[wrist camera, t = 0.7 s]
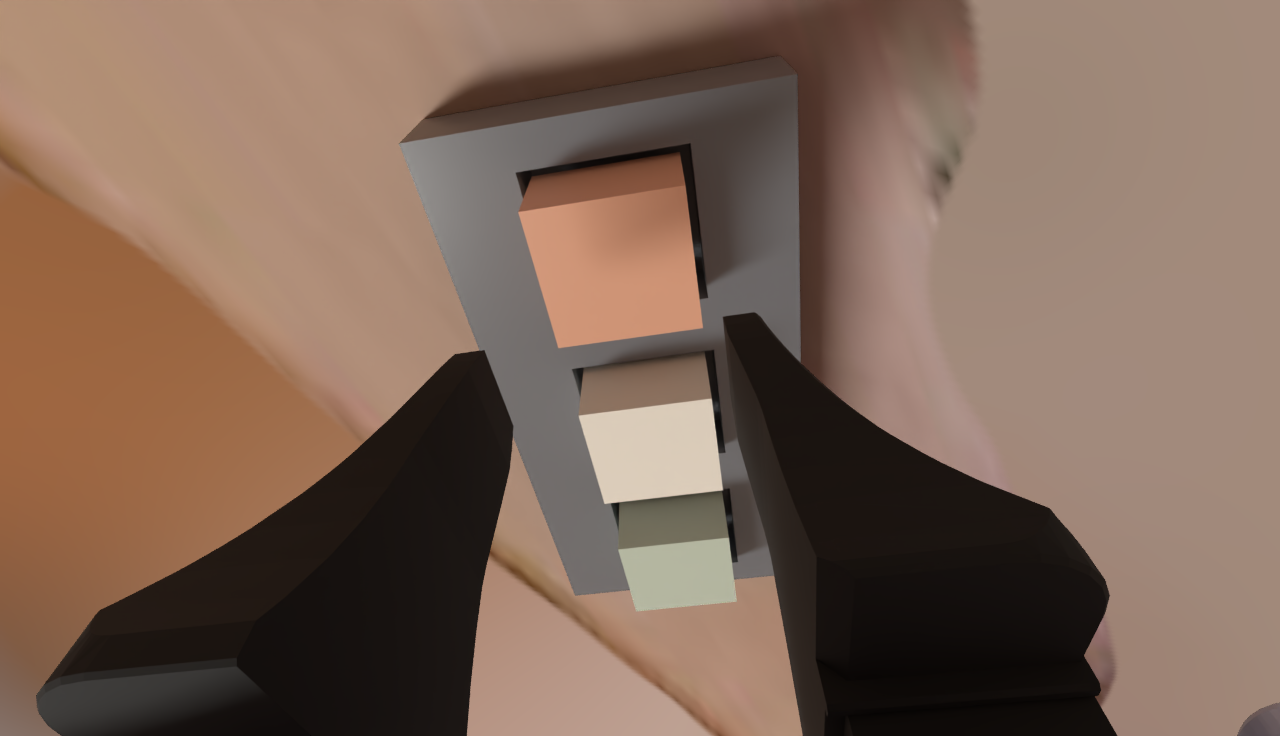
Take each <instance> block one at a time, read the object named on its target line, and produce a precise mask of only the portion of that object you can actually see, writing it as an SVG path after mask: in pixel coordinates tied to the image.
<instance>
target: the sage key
mask: <svg viewBox="0 0 1280 736" xmlns="http://www.w3.org/2000/svg"><path fill="white" fill-rule="evenodd" d="M618 551H619V554H620V558H621V561H622V564H623V568H624V571H625V575H626V578H627V581H628V585H629V588H630V591H631V595H632V598H633V602H634V605H635V608H636V611H645V610H655V609H665V608H675V607H686V606H696V605H706V604H716V603H726V602H737V600H736V592H735V584H734V576H733V568H732V560H731V551H730V543H729V536H728V529H727V522H726V515H725V508H724V501H723V495H722V490H721V491H712V492H704V493H695V494H686V495H678V496H669V497H660V498H651V499H643V500H634V501H625V502H619V534H618Z"/></svg>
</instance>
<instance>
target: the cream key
mask: <svg viewBox="0 0 1280 736" xmlns="http://www.w3.org/2000/svg"><path fill="white" fill-rule="evenodd" d="M578 416H579V419H580V423H581V426H582V429H583V433H584V436H585V439H586V443H587V446H588V450H589V453H590V456H591V460H592V463H593V467H594V470H595V473H596V477H597V480H598V483H599V487H600V490H601V494H602V497H603V500H604V504H608V503H617V502H625V501H634V500H643V499H651V498H660V497H669V496H678V495H686V494H695V493H704V492H712V491H721V490H723V486H722V478H721V470H720V462H719V454H718V446H717V438H716V429H715V421H714V413H713V405H712V397H711V391H710V384H709V378H708V371H707V365H706V358H705V352H704V351H703V352H696V353H688V354H681V355H674V356H666V357H659V358H651V359H644V360H637V361H629V362H622V363H615V364H607V365H600V366H593V367H585V368H584V370H583V379H582V388H581V397H580V406H579V415H578Z"/></svg>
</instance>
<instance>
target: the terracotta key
mask: <svg viewBox="0 0 1280 736" xmlns="http://www.w3.org/2000/svg"><path fill="white" fill-rule="evenodd" d="M518 213H519V217H520V220H521V223H522V227H523V230H524V233H525V237H526V240H527V244H528V247H529V250H530V254H531V257H532V260H533V264H534V267H535V271H536V274H537V277H538V281H539V284H540V288H541V291H542V294H543V298H544V301H545V304H546V308H547V311H548V315H549V318H550V321H551V325H552V328H553V331H554V335H555V338H556V342H557V345H558V348H564V347H571V346H578V345H585V344H592V343H599V342H607V341H614V340H621V339H628V338H635V337H643V336H650V335H657V334H664V333H671V332H678V331H686V330H693V329H700V328H703V324H702V316H701V307H700V299H699V291H698V283H697V275H696V267H695V259H694V251H693V242H692V234H691V226H690V218H689V210H688V202H687V194H686V186H685V180H684V174H683V168H682V163H681V157H680V152H676V153H670V154H664V155H658V156H652V157H646V158H640V159H634V160H628V161H622V162H616V163H610V164H604V165H598V166H592V167H586V168H580V169H574V170H568V171H562V172H556V173H550V174H544V175H538V176H532V177H531V180H530V182H529V185H528V188H527V190H526V193H525V195H524V198H523V201H522V203H521V206H520V209H519V211H518Z"/></svg>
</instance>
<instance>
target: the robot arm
mask: <svg viewBox="0 0 1280 736" xmlns="http://www.w3.org/2000/svg"><path fill="white" fill-rule="evenodd" d="M723 325H724V335H725V345H726V355H727V365H728V375H729V385H730V395H731V403H732V409H733V415H734V420H735V426H736V432H737V438H738V443H739V446H740V450H741V453H742V457H743V460H744V464H745V467H746V471H747V474H748V478H749V481H750V484H751V488H752V491H753V495H754V498H755V501H756V505H757V508H758V512H759V515H760V518H761V522H762V525H763V529H764V532H765V536H766V540H767V544H768V548H769V552H770V556H771V561H772V566H773V572H774V577H775V582H776V588H777V593H778V598H779V604H780V609H781V615H782V620H783V626H784V631H785V637H786V642H787V648H788V653H789V659H790V664H791V670H792V676H793V681H794V687H795V693H796V698H797V704H798V710H799V715H800V721H801V727H802V733H803V736H1117V734H1116V733H1115V731H1114V729H1113V727H1112V726H1111V724H1110V722H1109V721H1108V719H1107V717H1106V715H1105V714H1104V712H1103V710H1102V708H1101V707H1100V705H1099V703H1098V701H1097V700H1096V698H1095V696H1098V695H1099V693H1100V691H1101V688H1100V683H1099V681H1098V679H1097V678H1096V676H1095V674H1094V672H1093V671H1092V669H1091V667H1090V666H1089V664H1088V662H1087V661H1086V659H1085V657H1084V654H1085V652H1086V650H1087V648H1088V646H1089V644H1090V642H1091V640H1092V638H1093V636H1094V634H1095V632H1096V630H1097V628H1098V626H1099V624H1100V622H1101V621H1102V619H1103V616H1104V614H1105V612H1106V608H1107V604H1108V600H1109V596H1110V595H1109V591H1108V588H1107V585H1106V581H1105V579H1104V578H1103V576H1102V575H1101V573H1100V572H1099V571H1098V569H1097V568H1096V566H1095V565H1094V563H1093V562H1092V560H1091V559H1090V557H1089V556H1088V554H1087V553H1086V552H1085V550H1084V549H1083V548H1082V546H1081V545H1080V544H1079V543H1078V541H1077V540H1076V539H1075V538H1074V536H1073V535H1072V534H1071V533H1070V532H1069V530H1068V529H1067V528H1066V527H1065V526H1064V525H1063V524H1062V523H1061V522H1060V520H1059V519H1058V518H1057V517H1056V516H1055V514H1054V513H1053V512H1052V511H1051V509H1050V508H1047V507H1045V506H1042V505H1040V504H1037V503H1035V502H1032V501H1030V500H1027V499H1025V498H1022V497H1019V496H1017V495H1014V494H1012V493H1009V492H1007V491H1004V490H1002V489H999V488H996V487H994V486H991V485H989V484H986V483H984V482H982V481H979V480H977V479H975V478H973V477H971V476H968V475H966V474H964V473H962V472H960V471H958V470H956V469H954V468H951V467H949V466H947V465H945V464H943V463H941V462H939V461H937V460H935V459H933V458H931V457H929V456H928V455H926V454H924V453H922V452H920V451H918V450H917V449H915V448H913V447H911V446H910V445H908V444H906V443H904V442H903V441H901V440H899V439H897V438H896V437H894V436H892V435H890V434H889V433H887V432H886V431H884V430H883V429H881V428H879V427H878V426H876V425H875V424H873V423H872V422H871V421H869V420H868V419H866V418H865V417H864V416H862V415H861V414H859V413H858V412H857V411H855V410H854V409H853V408H851V407H850V406H849V405H847V404H846V403H845V402H844V401H843V400H841V399H840V398H839V397H838V396H836V395H835V394H834V393H833V392H832V391H831V390H829V389H828V388H827V387H826V386H825V385H824V384H822V383H821V382H820V381H819V380H818V379H817V378H816V377H815V376H814V375H813V374H812V373H810V372H809V371H808V370H807V369H806V368H805V367H804V366H803V365H802V364H801V363H800V362H799V361H798V360H797V359H796V358H795V357H794V356H793V355H792V353H791V352H790V351H789V350H788V349H787V348H786V347H785V346H784V345H783V344H782V343H781V341H780V340H779V339H778V338H777V337H776V336H775V334H774V333H773V332H772V331H771V330H770V328H769V327H768V326H767V325H766V323H765V322H764V321H763V319H762V318H761V316H759V315H758V314H757V313H755V312H752V313H745V314H737V315H730V316H723ZM513 427H514V426H513V423H512V421H511V418H510V415H509V413H508V410H507V408H506V405H505V402H504V400H503V397H502V395H501V392H500V389H499V387H498V384H497V382H496V379H495V376H494V374H493V371H492V369H491V366H490V363H489V361H488V358H487V356H486V353H485V350H481V351H474V352H467V353H460V354H455V355H454V356H452V357H451V358H450V359H449V360H448V361H447V362H446V363H445V364H444V365H443V366H442V367H441V368H440V369H439V370H438V371H437V372H436V373H435V374H434V375H433V376H432V377H431V378H430V379H429V380H428V381H427V382H426V383H425V384H424V385H423V386H422V387H421V388H420V389H419V390H418V391H417V392H416V393H415V394H414V395H413V396H412V397H411V398H410V399H409V400H408V401H407V402H406V403H405V404H404V405H403V406H402V407H401V408H400V409H399V410H398V411H397V412H396V413H395V414H394V415H393V416H392V417H391V418H390V419H389V420H388V421H387V422H386V423H385V424H384V425H383V426H381V427H380V428H379V429H378V430H377V431H376V432H375V433H374V434H373V435H372V436H371V437H370V438H369V439H367V440H366V441H365V442H364V443H363V444H362V445H361V446H360V447H359V448H358V449H357V450H356V451H355V452H353V453H352V454H351V455H350V456H349V457H348V458H346V459H345V460H344V461H343V462H342V463H340V464H339V465H338V466H337V467H336V468H334V469H333V470H332V471H331V472H329V473H328V474H327V475H325V476H324V477H323V478H322V479H320V480H319V481H318V482H316V483H315V484H314V485H313V486H311V487H310V488H309V489H307V490H306V491H305V492H303V493H302V494H301V495H299V496H298V497H296V498H295V499H293V500H292V501H290V502H289V503H288V504H286V505H285V506H283V507H282V508H281V509H279V510H277V511H276V512H274V513H273V514H271V515H270V516H268V517H267V518H265V519H264V520H263V521H261V522H260V523H258V524H257V525H255V526H254V527H252V528H251V529H249V530H248V531H246V532H244V533H243V534H241V535H239V536H238V537H236V538H235V539H233V540H231V541H229V542H228V543H226V544H225V545H223V546H221V547H220V548H218V549H216V550H214V551H213V552H211V553H209V554H208V555H206V556H204V557H202V558H200V559H199V560H197V561H195V562H193V563H192V564H190V565H188V566H186V567H184V568H182V569H181V570H179V571H177V572H175V573H173V574H171V575H169V576H167V577H165V578H163V579H162V580H160V581H157V582H155V583H154V584H152V585H150V586H148V587H146V588H144V589H142V590H140V591H138V592H136V593H134V594H132V595H130V596H128V597H126V598H124V599H122V600H120V601H118V602H116V603H114V604H112V605H110V606H108V607H106V608H104V609H101V610H100V611H99V612H98V613H97V614H96V615H95V616H94V618H93V619H92V621H91V622H90V623H89V625H88V626H87V627H86V629H85V630H84V631H83V633H82V634H81V635H80V637H79V638H78V639H77V641H76V642H75V644H74V645H73V646H72V648H71V649H70V650H69V652H68V653H67V654H66V656H65V657H64V659H63V660H62V661H61V662H60V664H59V665H58V666H57V668H56V669H55V671H54V672H53V673H52V675H51V676H50V677H49V679H48V680H47V681H46V683H45V684H44V686H43V687H42V688H41V689H40V691H39V692H38V693H37V695H36V699H37V708H38V711H39V714H40V715H41V717H42V718H43V719H44V721H45V722H46V724H47V725H48V726H49V727H51V728H52V729H53V730H54V731H56V732H57V733H58V734H60V735H61V736H467V724H468V711H469V698H470V686H471V676H472V666H473V657H474V648H475V638H476V630H477V622H478V614H479V606H480V599H481V591H482V585H483V580H484V575H485V570H486V565H487V561H488V557H489V553H490V549H491V545H492V541H493V537H494V532H495V528H496V524H497V520H498V516H499V512H500V508H501V504H502V500H503V496H504V491H505V487H506V483H507V479H508V474H509V470H510V461H511V452H512V440H513ZM1237 736H1280V703H1275V704H1272V705H1270V706H1267V707H1264V708H1261V709H1259V710H1258V711H1256V712H1255V713H1253V714H1252V715H1250V716H1249V717H1248V718H1247V719H1246V720H1245V722H1244V723H1243V725H1242V726H1241V728H1240V730H1239V732H1238V735H1237Z"/></svg>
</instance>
